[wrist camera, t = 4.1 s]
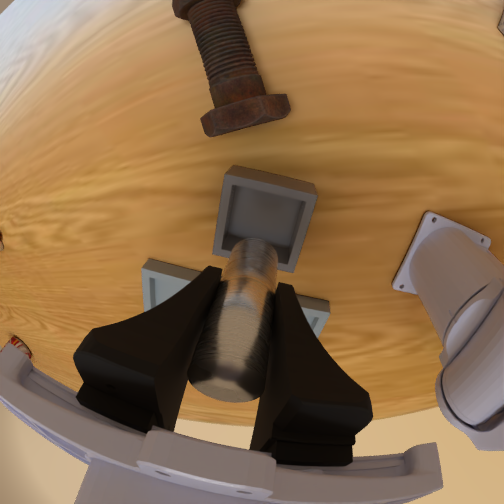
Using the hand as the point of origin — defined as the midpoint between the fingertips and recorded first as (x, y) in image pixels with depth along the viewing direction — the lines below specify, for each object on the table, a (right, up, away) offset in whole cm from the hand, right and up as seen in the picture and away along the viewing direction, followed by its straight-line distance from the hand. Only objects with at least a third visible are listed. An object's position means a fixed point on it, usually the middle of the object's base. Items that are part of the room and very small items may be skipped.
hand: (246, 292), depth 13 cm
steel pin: (0, +2, +3) cm, 3 cm away
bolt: (-2, +18, +3) cm, 18 cm away
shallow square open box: (+1, +5, +9) cm, 10 cm away
